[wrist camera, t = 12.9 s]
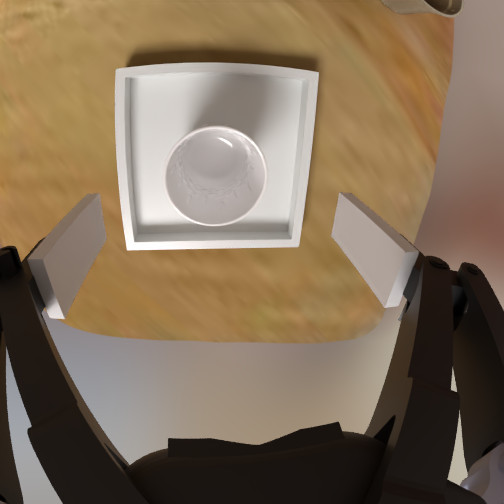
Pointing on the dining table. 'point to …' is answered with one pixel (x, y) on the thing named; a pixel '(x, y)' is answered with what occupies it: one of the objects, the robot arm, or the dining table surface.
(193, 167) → the white cup
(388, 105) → the dining table surface
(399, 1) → the flower pot
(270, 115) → the tray
